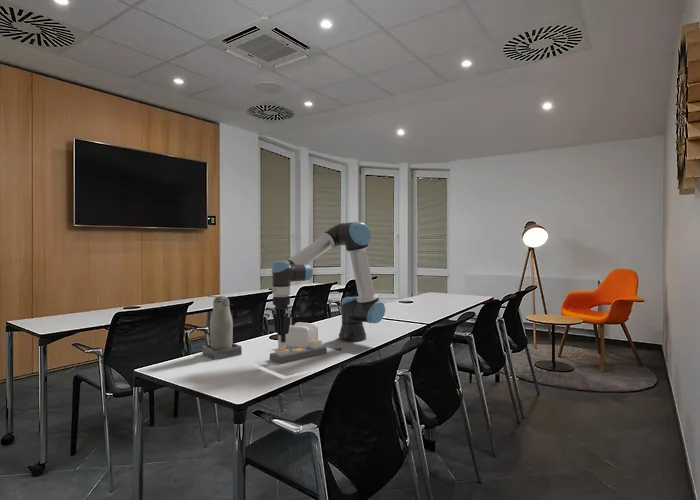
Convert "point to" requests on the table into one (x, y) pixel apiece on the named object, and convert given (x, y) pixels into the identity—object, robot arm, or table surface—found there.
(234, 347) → the bottle coaster rim
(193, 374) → the table surface
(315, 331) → the cable organizer
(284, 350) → the button
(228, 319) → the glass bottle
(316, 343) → the button
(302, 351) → the button
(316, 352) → the power strip
